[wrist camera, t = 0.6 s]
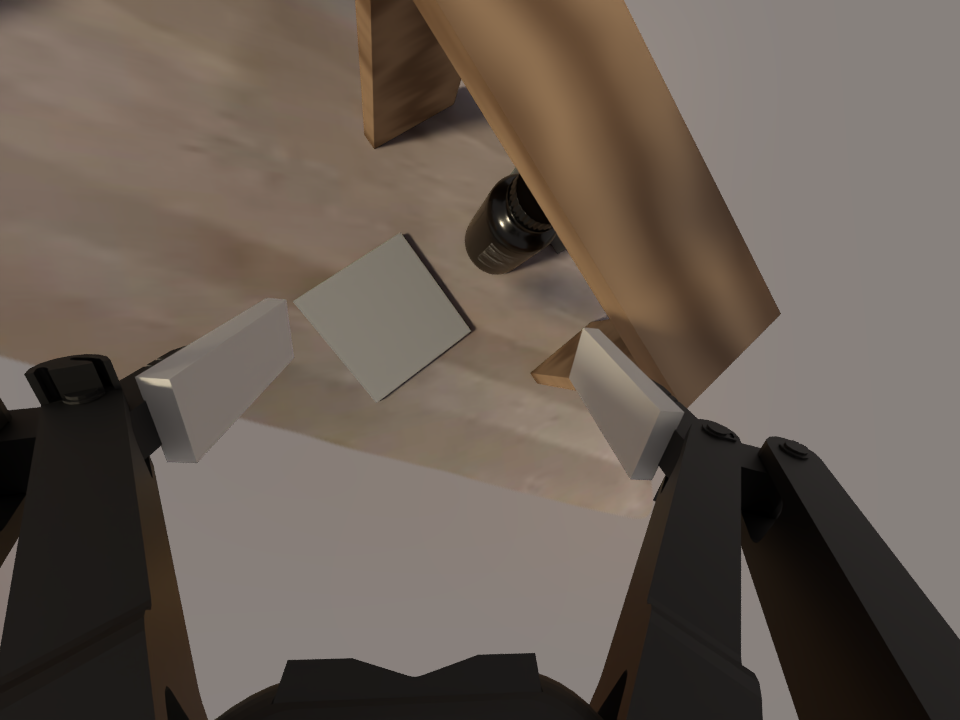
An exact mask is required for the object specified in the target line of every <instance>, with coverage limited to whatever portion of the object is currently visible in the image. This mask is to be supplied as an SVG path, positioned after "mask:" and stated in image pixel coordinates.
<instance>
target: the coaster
mask: <svg viewBox="0 0 960 720" xmlns="http://www.w3.org/2000/svg"><path fill="white" fill-rule="evenodd" d="M293 302H294V303H295V305H296V306H297V307H298V308H299V310H300V311H301V312H302V313H303V314H304V316H305V317H306V318H307V319H308V321H309V322H310V323H311V324H312V325H313V327H314V328H315V329H316V330H317V331H318V333H319V334H320V335H321V336H322V338H323V339H324V340H325V341H326V342H327V344H328V345H329V346H330V347H331V349H332V350H333V351H334V352H335V353H336V355H337V356H338V357H339V358H340V360H341V361H342V362H343V363H344V364H345V366H346V367H347V368H348V369H349V371H350V372H351V373H352V374H353V375H354V377H355V378H356V379H357V380H358V381H359V383H360V384H361V385H362V386H363V388H364V389H365V390H366V391H367V392H368V394H369V395H370V396H371V397H372V399H373V400H374V401H375V402H376V403H377V402H379V401H380V400H381V399H382V398H384V397H385V396H386V395H388V394H389V393H390V392H392V391H393V390H394V389H396V388H397V387H398V386H400V385H401V384H402V383H403V382H405V381H406V380H407V379H409V378H410V377H411V376H413V375H414V374H415V373H417V372H418V371H419V370H421V369H422V368H423V367H425V366H426V365H427V364H428V363H430V362H431V361H432V360H434V359H435V358H436V357H438V356H439V355H440V354H442V353H443V352H444V351H446V350H447V349H448V348H450V347H451V346H452V345H453V344H455V343H456V342H457V341H459V340H460V339H461V338H463V337H464V336H465V335H467V334H468V333H469V332H471V330H470V329H469V327H468V326H467V325H466V323H465V322H464V320H463V319H462V318H461V316H460V315H459V313H458V312H457V311H456V309H455V308H454V306H453V305H452V304H451V302H450V301H449V299H448V298H447V297H446V295H445V294H444V292H443V291H442V290H441V288H440V287H439V285H438V284H437V283H436V281H435V280H434V278H433V277H432V276H431V274H430V273H429V271H428V270H427V269H426V267H425V266H424V265H423V263H422V262H421V260H420V259H419V258H418V256H417V255H416V253H415V252H414V251H413V249H412V248H411V246H410V245H409V244H408V242H407V241H406V239H405V238H404V237H403V235H402V234H401V232H400V233H399V234H397V235H396V236H394V237H393V238H391V239H389V240H388V241H386V242H385V243H383V244H382V245H380V246H378V247H377V248H375V249H374V250H372V251H371V252H369V253H368V254H366V255H364V256H363V257H361V258H360V259H358V260H357V261H355V262H354V263H352V264H350V265H349V266H347V267H346V268H344V269H343V270H341V271H339V272H338V273H336V274H335V275H333V276H332V277H330V278H329V279H327V280H325V281H324V282H322V283H321V284H319V285H318V286H316V287H315V288H313V289H311V290H310V291H308V292H307V293H305V294H304V295H302V296H300V297H299V298H297V299H296V300H294V301H293Z"/></svg>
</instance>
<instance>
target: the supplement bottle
mask: <svg viewBox="0 0 960 720" xmlns="http://www.w3.org/2000/svg"><path fill="white" fill-rule="evenodd" d="M555 236H556V231H555V230H554V228H553V227H552V225H551V223H550V222H549V220H548V218H547V217H546V215H545V214H544V212H543V210H542V209H541V207H540V206H539V204H538V202H537V201H536V199H535V197H534V196H533V194H532V193H531V191H530V189H529V188H528V186H527V184H526V183H525V181H524V180H523V178H522V176H521V175H520V173H517V174H512V175H508V176H506V177H504V178H503V179H501V180H500V181H499V182H498V183H497V184H496V185H495V186H494V187H493V188H492V190H491V191H490V193H489V194H488V196H487V197H486V199H485V201H484V202H483V204H482V205H481V207H480V208H479V210H478V211H477V213H476V214H475V216H474V217H473V219H472V220H471V222H470V224H469V226H468V228H467V230H466V235H465V246H466V250H467V253H468V256H469V257H470V259H471V261H472V262H473V263H474V264H475V265H476V266H477V267H478V268H479V269H481V270H482V271H484V272H487V273H490V274H504V273H507V272H510V271H511V270H513V269H515V268H516V267H518V266H519V265H521V264H522V263H524V262H525V261H526V260H528V259H529V258H531V257H532V256H534V255H535V254H537V253H538V252H540V251H541V250H543V249H544V248H545V247H546V246H548V245H549V244H550V243H551V242H552V240H553V239H554V237H555Z"/></svg>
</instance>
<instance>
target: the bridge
mask: <svg viewBox="0 0 960 720" xmlns="http://www.w3.org/2000/svg"><path fill="white" fill-rule="evenodd" d="M355 4H356V18H357V33H358V47H359V62H360V76H361V91H362V105H363V120H364V134H365V136H366V138H367V139H368V141H369V142H370V143H371V145H372V146H373V148H374V149H375V148H377V147H379V146H380V145H382V144H384V143H386V142H387V141H389V140H391V139H393V138H395V137H396V136H398V135H400V134H402V133H403V132H405V131H407V130H409V129H410V128H412V127H414V126H416V125H418V124H419V123H421V122H423V121H425V120H426V119H428V118H430V117H432V116H434V115H435V114H437V113H439V112H441V111H442V110H444V109H446V108H448V107H449V106H451V105H453V104H454V102H455V98H456V95H457V91H458V88H459V85H460V81H461V79H462V81H463V82H464V84H465V86H466V87H467V89H468V91H469V92H470V94H471V95H472V97H473V99H474V100H475V102H476V104H477V105H478V107H479V108H480V110H481V112H482V113H483V115H484V116H485V118H486V120H487V121H488V123H489V125H490V126H491V128H492V129H493V131H494V133H495V134H496V136H497V138H498V139H499V141H500V142H501V144H502V146H503V147H504V149H505V150H506V152H507V154H508V155H509V157H510V159H511V160H512V162H513V163H514V165H515V167H516V168H517V170H518V172H519V173H520V175H521V176H522V178H523V180H524V181H525V183H526V184H527V186H528V188H529V189H530V191H531V193H532V194H533V196H534V197H535V199H536V201H537V202H538V204H539V206H540V207H541V209H542V210H543V212H544V214H545V215H546V217H547V218H548V220H549V222H550V223H551V225H552V227H553V228H554V230H555V231H556V233H557V235H558V236H559V238H560V240H561V241H562V243H563V244H564V246H565V248H566V249H567V251H568V252H569V254H570V256H571V257H572V259H573V261H574V262H575V264H576V265H577V267H578V269H579V270H580V272H581V274H582V275H583V277H584V278H585V280H586V282H587V283H588V285H589V286H590V288H591V290H592V291H593V293H594V295H595V296H596V298H597V299H598V301H599V303H600V304H601V306H602V308H603V309H604V311H605V312H606V314H607V316H608V317H609V319H608V320H602V321H595V322H591V323H590V324H588V325H587V326H586V327H585V328H595V329H599V330H600V331H601V332H602V333H603V334H604V335H605V336H606V337H607V338H608V339H610V340H611V341H612V342H613V343H614V344H615V345H616V346H617V347H618V348H619V349H620V350H621V351H622V352H623V353H624V354H625V355H626V356H627V357H628V358H629V359H630V360H631V361H632V362H633V363H634V364H635V365H636V366H637V367H638V368H639V369H640V370H641V371H642V372H643V373H644V374H645V375H647V376H648V377H649V378H650V379H652V380H654V381H655V382H657V383H659V384H660V385H662V386H664V387H665V388H666V389H667V390H668V391H669V392H670V393H671V395H672V396H674V397H675V398H676V399H677V400H678V402H680V403H681V404H683V405H684V406H685V407H686V408H688V407H689V406H690V405H691V404H692V403H693V402H694V401H695V400H696V399H697V398H698V397H699V395H701V394H702V393H703V392H704V391H705V390H706V389H707V388H708V387H709V386H710V385H711V384H712V383H713V382H714V381H715V380H716V379H717V378H718V377H719V375H721V374H722V372H724V371H725V370H726V369H727V368H728V367H729V365H731V364H732V362H733V361H735V359H736V358H738V357H739V356H740V354H741V353H742V352H743V351H744V350H745V349H746V348H747V347H748V346H749V345H750V344H751V343H752V342H753V341H754V340H755V339H756V338H757V337H758V336H759V335H760V334H761V333H762V332H763V331H764V330H765V329H766V328H767V327H768V326H769V325H770V324H771V323H772V322H773V321H774V320H775V319H776V318H777V317H778V316H779V315H780V314H781V313H780V311H779V309H778V307H777V305H776V303H775V301H774V299H773V297H772V295H771V293H770V291H769V289H768V287H767V285H766V283H765V281H764V279H763V277H762V275H761V273H760V271H759V269H758V267H757V265H756V263H755V261H754V259H753V257H752V255H751V253H750V251H749V249H748V247H747V245H746V243H745V241H744V239H743V237H742V235H741V233H740V231H739V229H738V228H737V226H736V224H735V221H734V219H733V217H732V216H731V213H730V211H729V210H728V207H727V205H726V204H725V201H724V199H723V197H722V195H721V194H720V191H719V189H718V188H717V185H716V183H715V182H714V180H713V177H712V176H711V174H710V172H709V170H708V168H707V166H706V164H705V162H704V160H703V158H702V156H701V154H700V152H699V150H698V148H697V146H696V144H695V142H694V140H693V138H692V136H691V134H690V132H689V130H688V128H687V126H686V124H685V122H684V120H683V118H682V116H681V114H680V112H679V110H678V108H677V106H676V104H675V102H674V100H673V98H672V96H671V94H670V92H669V90H668V88H667V86H666V84H665V82H664V80H663V78H662V76H661V74H660V72H659V70H658V68H657V66H656V64H655V62H654V60H653V58H652V56H651V54H650V52H649V50H648V48H647V46H646V44H645V42H644V40H643V38H642V36H641V34H640V32H639V30H638V28H637V26H636V24H635V22H634V20H633V18H632V16H631V14H630V12H629V10H628V8H627V6H626V4H625V2H624V0H355ZM582 330H583V329H582ZM582 330H581V331H580V332H579V333H578V334H576V335H575V336H574V337H573V338H572V339H570V340H569V341H568V342H567V343H566V344H565V345H563V346H562V347H561V348H560V349H559V350H557V351H556V352H555V353H554V354H553V355H551V356H550V357H549V358H548V359H547V360H545V361H544V362H543V363H542V364H541V365H539V366H538V367H537V368H536V369H535V370H533V371H532V372H531V375H532V376H533V378H534V379H535V381H536V382H537V383H538V384H543V385H549V386H554V387H559V388H565V389H570V390H575V391H576V389H575V387H574V386H573V384H572V382H571V381H570V379H569V376H570V373H571V369H572V365H573V362H574V358H575V355H576V351H577V348H578V344H579V340H580V337H581V333H582Z"/></svg>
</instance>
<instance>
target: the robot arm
mask: <svg viewBox="0 0 960 720" xmlns="http://www.w3.org/2000/svg"><path fill="white" fill-rule="evenodd" d="M293 358H294V353H293V346H292V338H291V331H290V323H289V316H288V309H287V301H286V299H275V298H266V299H264V300H262V301H261V302H259V303H257V304H256V305H254V306H252V307H251V308H249V309H247V310H246V311H244V312H242V313H241V314H239V315H237V316H236V317H234V318H232V319H231V320H229V321H227V322H226V323H224V324H222V325H221V326H219V327H217V328H216V329H214V330H212V331H211V332H209V333H207V334H206V335H204V336H202V337H201V338H199V339H197V340H196V341H194V342H192V343H191V344H189V345H187V346H184V347H181V348H178V349H175V350H172V351H170V352H168V353H166V354H165V355H163V356H161V357H159V358H158V360H154V361H153V362H151V363H149V364H147V366H146V367H142V368H141V369H139V370H137V371H135V372H134V373H132V374H130V375H129V376H127V377H125V378H123V379H122V380H120V381H119V380H118V377H117V375H116V372H115V370H114V368H113V365H112V363H111V360H110V359H109V358H108V357H107V356H103V355H96V354H84V355H73V356H67V357H62V358H57V359H53V360H50V361H47V362H43V363H40V364H38V365H36V366H34V367H32V368H30V369H29V370H28V371H27V372H26V373H25V374H24V375H25V376H26V378H27V380H28V382H29V384H30V386H31V387H32V389H33V391H34V393H35V395H36V397H37V398H38V400H39V402H40V404H41V407H38V408H29V409H19V410H7V408H6V407H5V405H4V403H3V402H2V400H1V399H0V567H1V566H2V564H3V562H4V561H5V559H6V557H7V556H8V554H9V552H10V551H11V549H12V547H13V546H14V544H15V542H16V541H17V539H18V537H19V540H18V546H17V552H16V558H15V563H14V570H13V575H12V581H11V587H10V594H9V599H8V605H7V611H6V617H5V623H4V629H3V635H2V640H1V646H0V720H208V718H207V715H206V713H205V709H204V707H203V704H202V701H201V697H200V693H199V689H198V684H197V679H196V674H195V669H194V664H193V660H192V655H191V650H190V645H189V640H188V635H187V630H186V625H185V620H184V615H183V610H182V605H181V600H180V595H179V591H178V585H177V580H176V575H175V570H174V565H173V560H172V555H171V550H170V545H169V541H168V536H167V531H166V525H165V521H164V515H163V510H162V505H161V501H160V496H159V491H158V486H157V481H156V476H155V471H154V466H153V463H152V461H151V458H150V455H151V454H152V453H153V452H154V451H155V450H156V449H157V448H159V447H160V446H161V447H162V450H163V452H164V455H165V457H166V460H167V462H180V463H198V462H199V460H200V459H201V458H202V457H203V456H204V455H205V454H206V453H207V452H208V451H209V449H210V448H211V447H212V446H213V445H214V444H215V443H216V442H217V441H218V440H219V439H220V438H221V437H222V436H223V434H224V433H225V432H226V431H227V430H228V429H229V428H230V427H231V426H232V424H234V422H235V421H236V420H237V419H238V418H239V417H240V416H241V415H242V414H243V413H244V412H245V411H246V409H247V408H248V407H249V406H250V405H251V404H252V403H253V402H254V401H255V400H256V399H257V398H258V396H259V395H260V394H261V393H262V392H263V391H264V390H265V389H266V388H267V387H268V386H269V385H270V383H271V382H272V381H273V380H274V379H275V378H276V377H277V376H278V375H279V374H280V373H281V372H282V370H283V369H284V368H285V367H286V366H287V365H288V364H289V363H290V362H291V361H292V360H293ZM569 379H570V381H571V382H572V384H573V386H574V387H575V389H576V391H577V392H578V394H579V396H580V397H581V399H582V401H583V402H584V404H585V405H586V407H587V409H588V410H589V412H590V414H591V415H592V417H593V419H594V420H595V422H596V424H597V425H598V427H599V428H600V430H601V432H602V433H603V435H604V437H605V438H606V440H607V442H608V443H609V445H610V447H611V448H612V450H613V452H614V453H615V455H616V456H617V458H618V460H619V461H620V463H621V465H622V466H623V468H624V470H625V471H626V473H627V475H628V476H629V478H630V479H635V480H652V479H653V477H654V475H655V473H656V471H657V468H658V466H660V468H661V469H662V471H663V472H664V473H665V477H664V479H663V481H662V483H661V485H660V487H659V489H658V491H657V493H656V495H655V497H654V499H653V501H655V505H654V509H653V512H652V515H651V518H650V521H649V525H648V528H647V532H646V535H645V537H644V541H643V544H642V547H641V550H640V553H639V557H638V560H637V563H636V566H635V569H634V573H633V576H632V579H631V582H630V585H629V589H628V592H627V595H626V598H625V602H624V605H623V608H622V611H621V615H620V618H619V621H618V624H617V627H616V630H615V634H614V637H613V640H612V643H611V647H610V650H609V653H608V656H607V659H606V662H605V666H604V669H603V672H602V675H601V678H600V681H599V683H598V686H597V688H596V690H595V693H594V695H593V698H592V700H591V702H590V704H588V703H586V702H585V701H584V700H583V699H582V698H581V697H579V696H578V695H577V694H576V693H575V692H573V691H572V690H570V689H568V688H567V687H566V686H564V685H562V684H561V683H559V682H557V681H555V680H553V679H551V678H549V677H547V676H544V675H541V674H539V673H538V667H537V662H536V656H535V653H526V654H525V653H524V654H489V655H476V656H474V657H471V658H468V659H466V660H463V661H460V662H457V663H455V664H452V665H449V666H447V667H444V668H441V669H439V670H436V671H433V672H430V673H427V674H425V675H422V676H418V677H411V676H407V675H404V674H401V673H397V672H394V671H391V670H388V669H385V668H382V667H378V666H375V665H371V664H369V663H365V662H362V661H359V660H356V659H353V658H347V659H315V660H314V659H313V660H288V661H287V664H286V667H285V669H284V672H283V676H282V679H281V681H280V683H278V684H275V685H273V686H270V687H268V688H266V689H264V690H261V691H259V692H257V693H255V694H253V695H251V696H249V697H248V698H246V699H245V700H243V701H241V702H240V703H238V704H236V705H235V706H233V707H231V708H230V709H229V710H227V711H226V712H225V713H223V714H222V715H221V716H219V717H218V718H216V719H215V720H763V717H762V697H761V691H760V684H759V681H758V679H757V677H756V675H755V674H754V673H753V672H752V671H750V670H749V669H747V668H746V667H744V666H742V663H741V547H742V549H743V553H744V556H745V559H746V562H747V565H748V568H749V570H750V574H751V577H752V580H753V583H754V586H755V589H756V592H757V595H758V598H759V601H760V603H761V607H762V610H763V613H764V616H765V619H766V622H767V625H768V628H769V631H770V634H771V637H772V640H773V643H774V646H775V649H776V652H777V655H778V658H779V661H780V664H781V667H782V670H783V673H784V676H785V679H786V682H787V685H788V688H789V691H790V694H791V697H792V700H793V703H794V706H795V709H796V712H797V715H798V718H799V720H960V639H959V638H958V637H957V635H956V634H955V633H954V631H953V630H952V629H951V628H950V626H949V625H948V624H947V622H946V621H945V620H944V618H943V617H942V616H941V615H940V613H939V612H938V611H937V609H936V608H935V607H934V605H933V604H932V603H931V602H930V600H929V599H928V598H927V597H926V595H925V594H924V593H923V591H922V590H921V589H920V588H919V586H918V585H917V583H916V582H915V581H914V579H913V578H912V577H911V576H910V575H909V573H908V572H907V570H906V569H905V568H904V566H903V565H902V564H901V563H900V561H899V560H898V559H897V557H896V556H895V555H894V554H893V552H892V551H891V550H890V548H889V547H888V546H887V544H886V543H885V542H884V541H883V539H882V538H881V537H880V535H879V534H878V533H877V531H876V530H875V529H874V528H873V527H872V525H871V524H870V522H869V521H868V520H867V518H866V517H865V516H864V515H863V513H862V512H861V511H860V509H859V508H858V507H857V505H856V504H855V503H854V502H853V500H852V499H851V498H850V496H849V495H848V494H847V493H846V491H845V490H844V489H843V487H842V486H841V485H840V484H839V482H838V481H837V479H836V478H835V477H834V476H833V474H832V473H831V472H830V470H829V469H828V468H827V466H826V465H825V464H824V463H823V461H822V460H821V459H820V458H819V457H818V456H817V455H816V454H815V453H814V452H812V451H810V450H809V449H808V448H807V447H806V446H804V445H802V444H799V443H798V442H796V441H793V440H792V441H791V440H788V439H785V438H781V437H769V438H768V439H766V441H765V443H764V444H763V446H762V447H761V448H758V447H754V446H750V445H746V444H742V443H741V441H740V439H739V437H738V436H737V435H736V434H735V433H734V432H732V431H731V430H730V429H728V428H726V427H724V426H722V425H720V424H718V423H716V422H712V421H709V420H703V419H697V418H696V417H695V416H694V415H693V414H692V413H691V412H690V411H689V410H688V409H687V408H686V407H685V406H684V405H683V404H681V403H680V402H678V400H677V399H676V398H675V397H674V396H672V395H671V393H670V392H669V391H668V390H667V389H666V388H665V387H664V386H662V385H660V384H659V383H657V382H655V381H654V380H652V379H650V378H649V377H648V376H647V375H645V374H644V373H643V372H642V371H641V370H640V369H639V368H638V367H637V366H636V365H635V364H634V363H633V362H632V361H631V360H630V359H629V358H628V357H627V356H626V355H625V354H624V353H623V352H622V351H621V350H620V349H619V348H618V347H617V346H616V345H615V344H614V343H613V342H612V341H611V340H610V339H608V338H607V337H606V336H605V335H604V334H603V333H602V332H601V331H600V330H599V329H595V328H584V327H583V330H582V333H581V337H580V340H579V344H578V348H577V351H576V355H575V358H574V362H573V365H572V369H571V373H570V376H569Z"/></svg>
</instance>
